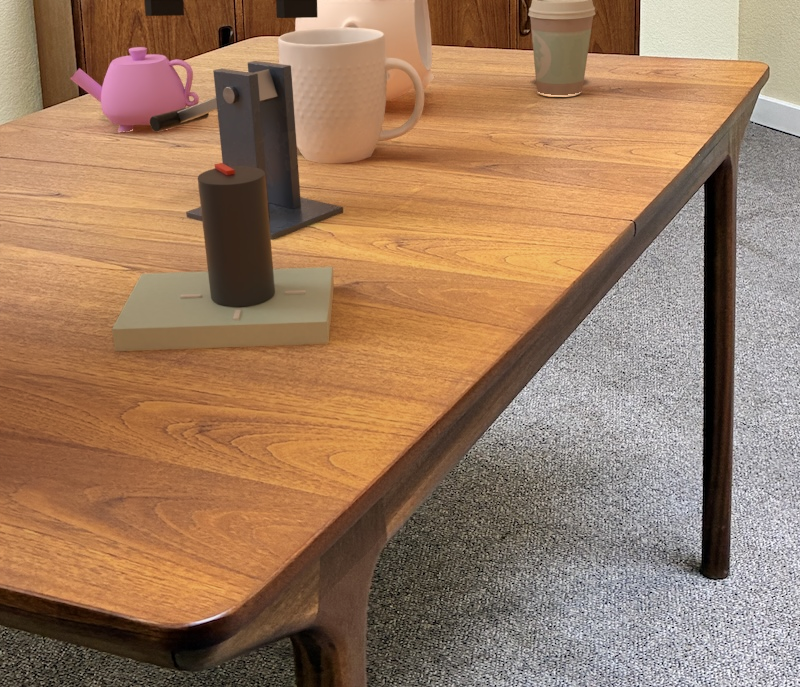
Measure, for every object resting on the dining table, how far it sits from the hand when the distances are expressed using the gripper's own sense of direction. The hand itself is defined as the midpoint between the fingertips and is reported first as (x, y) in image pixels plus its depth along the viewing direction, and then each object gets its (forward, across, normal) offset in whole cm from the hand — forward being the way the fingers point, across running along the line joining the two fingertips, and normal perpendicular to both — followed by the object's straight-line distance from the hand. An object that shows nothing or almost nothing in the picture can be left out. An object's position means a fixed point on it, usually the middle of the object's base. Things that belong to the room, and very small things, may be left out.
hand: (227, 17), depth 72 cm
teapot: (+14, -57, +32) cm, 67 cm away
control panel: (+21, 0, -1) cm, 21 cm away
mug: (+16, -25, +36) cm, 46 cm away
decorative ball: (+12, -41, +55) cm, 70 cm away
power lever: (+9, -20, +15) cm, 27 cm away
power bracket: (+18, -17, +17) cm, 30 cm away
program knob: (+18, +1, -1) cm, 18 cm away
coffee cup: (+11, -26, +75) cm, 80 cm away
